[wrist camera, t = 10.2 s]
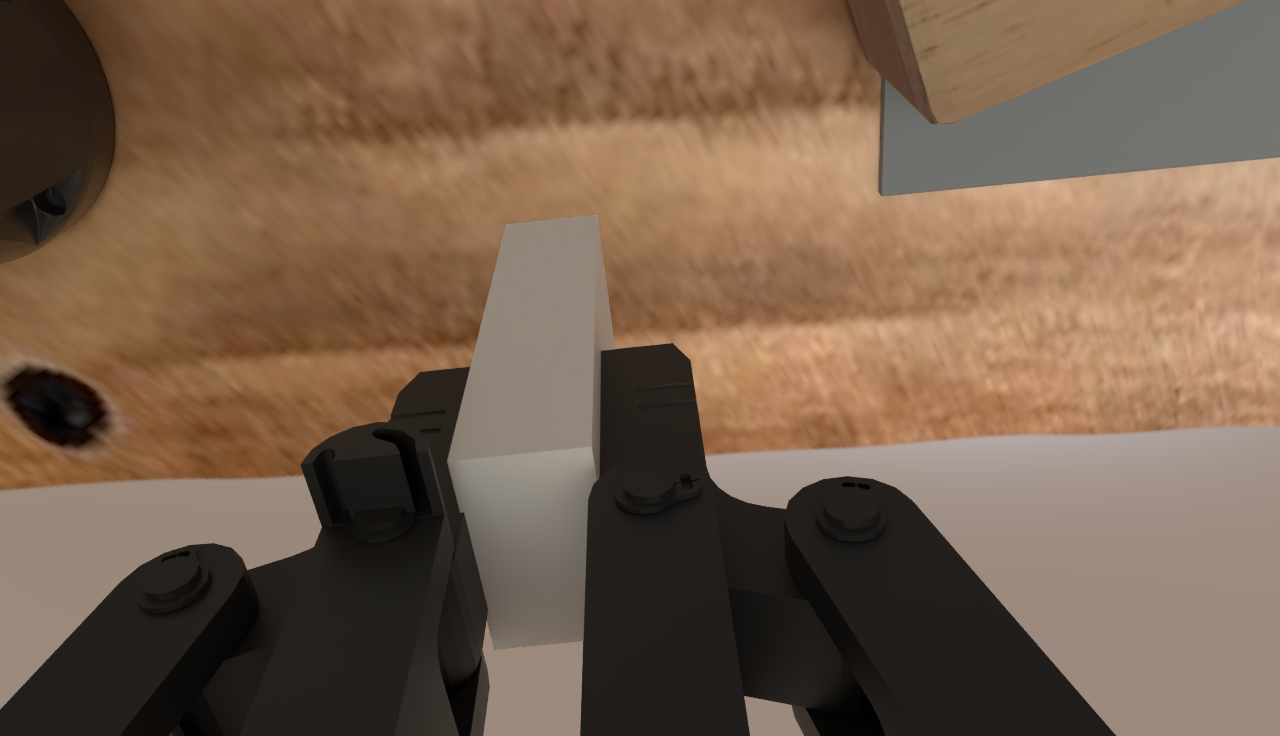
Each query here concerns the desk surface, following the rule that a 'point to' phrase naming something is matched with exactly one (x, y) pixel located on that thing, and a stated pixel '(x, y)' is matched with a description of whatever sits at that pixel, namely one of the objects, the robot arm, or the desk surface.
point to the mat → (1108, 114)
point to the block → (1004, 44)
